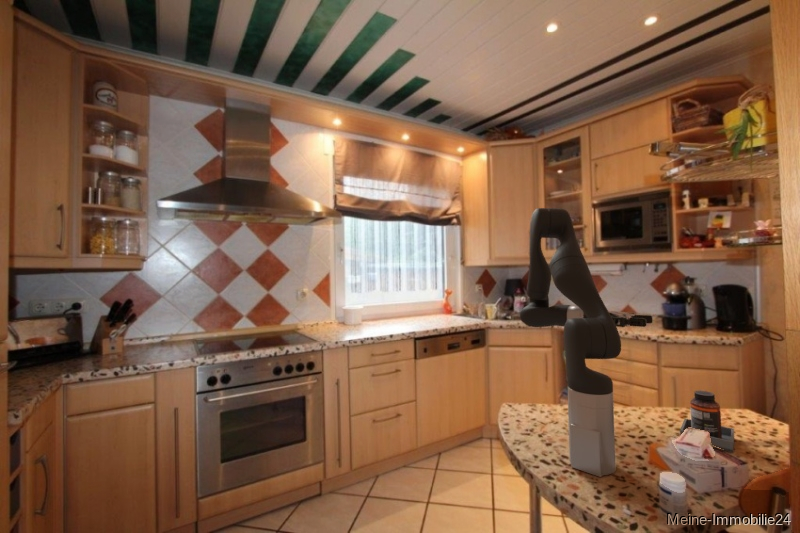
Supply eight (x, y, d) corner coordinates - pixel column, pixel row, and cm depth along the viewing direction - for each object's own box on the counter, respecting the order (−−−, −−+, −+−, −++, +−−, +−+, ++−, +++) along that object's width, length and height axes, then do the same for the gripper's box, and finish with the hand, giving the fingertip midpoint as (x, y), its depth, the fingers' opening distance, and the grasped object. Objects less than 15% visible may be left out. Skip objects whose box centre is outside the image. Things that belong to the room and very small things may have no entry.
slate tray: (733, 452, 85) (733, 442, 85) (680, 439, 92) (680, 430, 92) (734, 438, 92) (733, 428, 92) (685, 427, 99) (684, 418, 99)
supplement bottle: (710, 431, 94) (708, 389, 95) (728, 442, 88) (726, 396, 89) (685, 431, 95) (684, 388, 95) (702, 441, 89) (700, 396, 89)
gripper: (577, 306, 104) (643, 309, 93) (592, 303, 114) (653, 305, 103) (578, 332, 104) (644, 338, 93) (593, 326, 114) (654, 331, 103)
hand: (649, 321), depth 98 cm, fingers open, 8 cm apart
